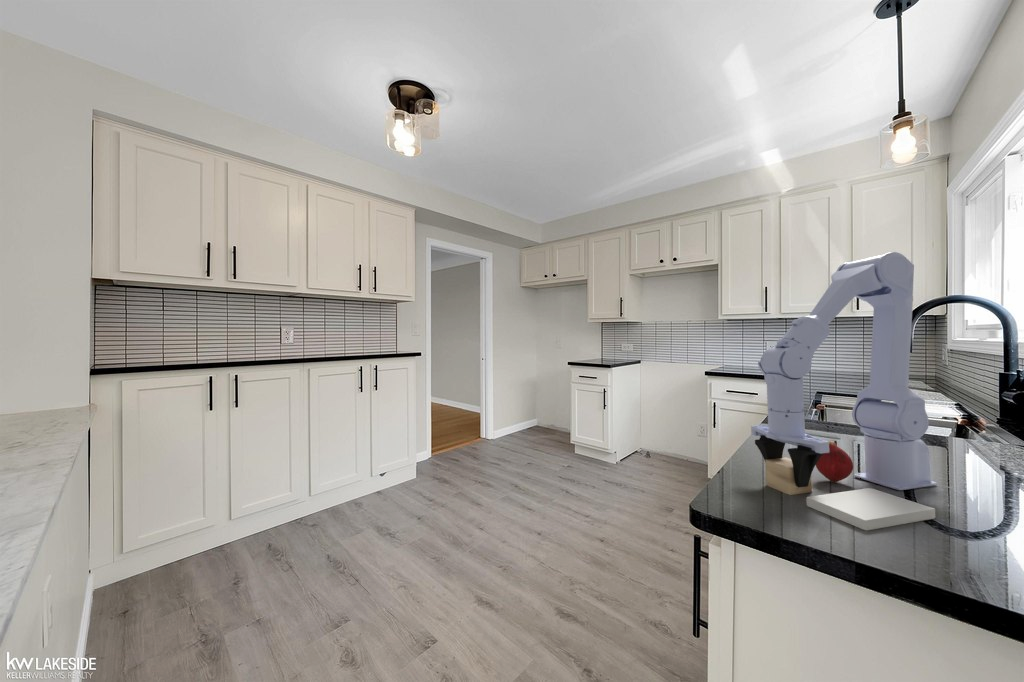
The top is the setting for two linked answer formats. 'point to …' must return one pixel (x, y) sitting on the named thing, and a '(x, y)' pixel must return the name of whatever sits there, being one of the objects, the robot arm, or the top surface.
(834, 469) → the onion
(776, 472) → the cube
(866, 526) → the cutting board
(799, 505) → the top surface
